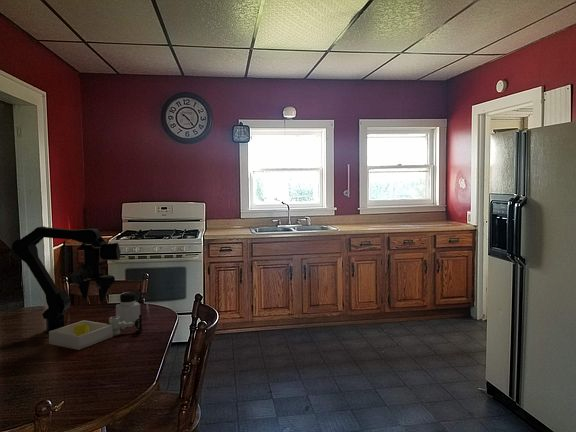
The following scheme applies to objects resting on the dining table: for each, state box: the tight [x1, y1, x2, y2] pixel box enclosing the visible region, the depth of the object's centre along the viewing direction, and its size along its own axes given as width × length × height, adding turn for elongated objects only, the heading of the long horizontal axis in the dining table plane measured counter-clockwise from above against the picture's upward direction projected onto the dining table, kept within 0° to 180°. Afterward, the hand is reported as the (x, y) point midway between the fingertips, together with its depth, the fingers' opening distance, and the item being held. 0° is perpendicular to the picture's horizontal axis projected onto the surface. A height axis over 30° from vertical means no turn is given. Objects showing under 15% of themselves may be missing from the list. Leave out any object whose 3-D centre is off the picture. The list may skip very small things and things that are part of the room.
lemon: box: [73, 323, 90, 336], centre depth 160 cm, size 7×5×5 cm
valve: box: [108, 314, 143, 337], centre depth 169 cm, size 7×7×12 cm
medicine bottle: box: [115, 291, 141, 323], centre depth 184 cm, size 7×7×12 cm
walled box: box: [48, 319, 114, 351], centre depth 160 cm, size 15×15×4 cm
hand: (93, 299), depth 172 cm, fingers open, 9 cm apart
